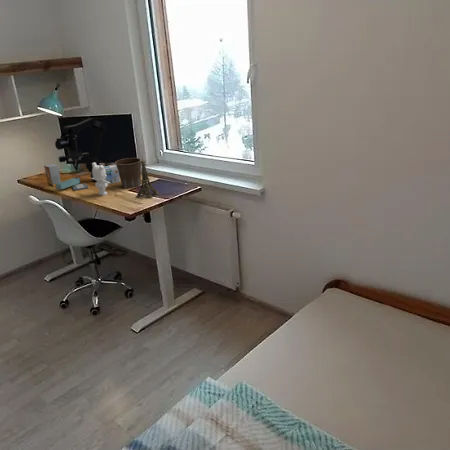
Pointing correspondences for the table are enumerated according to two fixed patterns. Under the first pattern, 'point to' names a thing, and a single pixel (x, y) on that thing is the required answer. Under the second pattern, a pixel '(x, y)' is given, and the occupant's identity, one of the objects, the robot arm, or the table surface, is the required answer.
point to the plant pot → (129, 172)
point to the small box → (52, 174)
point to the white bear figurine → (100, 178)
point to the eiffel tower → (145, 184)
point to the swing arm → (68, 183)
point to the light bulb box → (112, 174)
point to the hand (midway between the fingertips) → (76, 170)
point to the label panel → (80, 187)
